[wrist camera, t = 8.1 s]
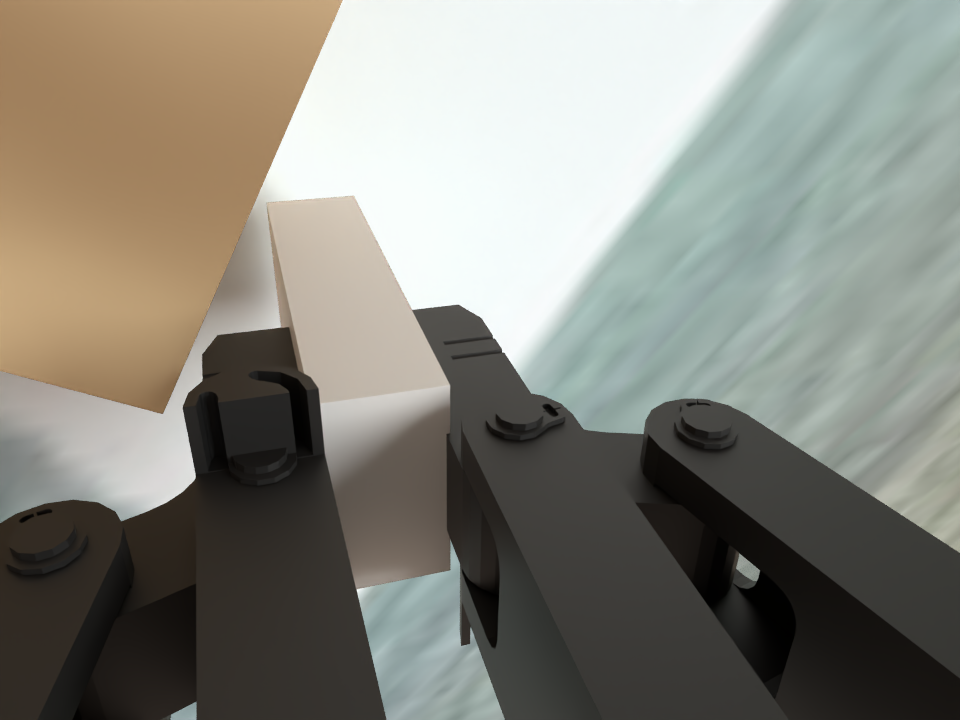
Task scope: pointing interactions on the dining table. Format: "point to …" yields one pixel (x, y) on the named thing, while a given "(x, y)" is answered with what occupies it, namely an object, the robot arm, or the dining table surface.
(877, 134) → the dining table surface
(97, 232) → the oak block
